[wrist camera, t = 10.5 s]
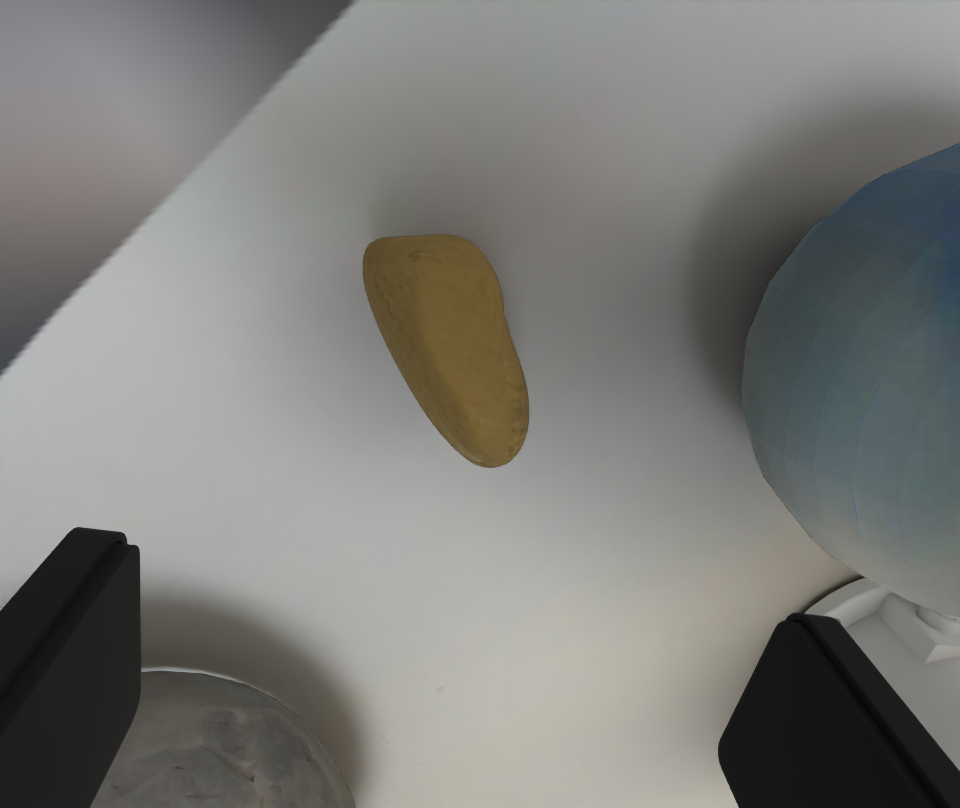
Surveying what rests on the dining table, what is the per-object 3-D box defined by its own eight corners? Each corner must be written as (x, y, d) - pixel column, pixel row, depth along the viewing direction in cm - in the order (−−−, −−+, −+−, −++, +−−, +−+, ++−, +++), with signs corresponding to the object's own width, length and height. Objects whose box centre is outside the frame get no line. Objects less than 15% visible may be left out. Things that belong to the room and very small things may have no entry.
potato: (392, 188, 24) (374, 218, 17) (569, 274, 26) (624, 335, 18) (326, 350, 26) (285, 439, 19) (492, 418, 28) (513, 524, 21)
